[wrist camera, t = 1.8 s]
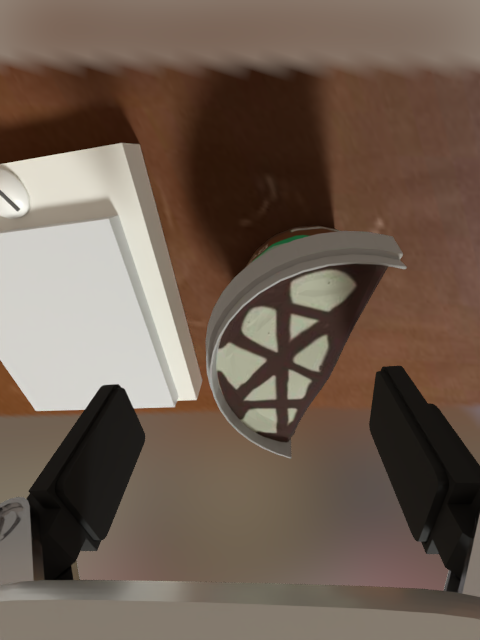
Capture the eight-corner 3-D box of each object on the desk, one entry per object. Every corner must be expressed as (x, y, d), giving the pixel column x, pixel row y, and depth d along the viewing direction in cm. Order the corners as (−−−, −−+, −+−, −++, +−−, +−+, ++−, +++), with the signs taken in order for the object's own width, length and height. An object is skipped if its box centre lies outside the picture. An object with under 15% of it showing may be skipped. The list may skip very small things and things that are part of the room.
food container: (251, 176, 17) (234, 197, 9) (345, 205, 18) (416, 252, 9) (211, 334, 24) (178, 437, 15) (280, 353, 24) (287, 464, 15)
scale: (139, 144, 17) (111, 141, 14) (202, 380, 26) (193, 410, 23) (-78, 181, 19) (-144, 187, 16) (50, 387, 29) (24, 415, 26)
